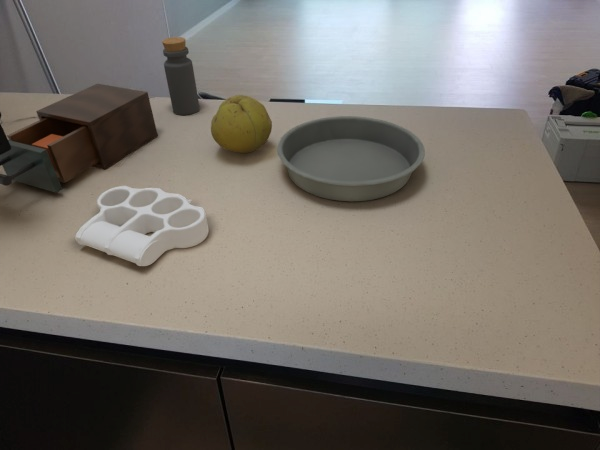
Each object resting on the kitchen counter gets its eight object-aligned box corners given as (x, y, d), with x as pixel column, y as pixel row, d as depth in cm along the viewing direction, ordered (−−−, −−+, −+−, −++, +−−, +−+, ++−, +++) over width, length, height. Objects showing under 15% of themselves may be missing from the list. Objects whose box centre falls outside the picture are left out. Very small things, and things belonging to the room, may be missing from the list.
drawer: (26, 212, 69) (6, 170, 65) (-24, 196, 73) (-45, 155, 69) (116, 155, 83) (104, 118, 79) (70, 144, 87) (57, 108, 83)
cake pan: (449, 192, 72) (454, 167, 70) (301, 221, 67) (300, 195, 64) (384, 128, 91) (386, 107, 89) (264, 147, 86) (262, 125, 83)
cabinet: (105, 170, 81) (89, 122, 75) (54, 157, 85) (35, 111, 80) (158, 136, 91) (147, 91, 86) (110, 126, 96) (97, 83, 90)
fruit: (283, 140, 88) (280, 90, 82) (257, 169, 80) (252, 116, 73) (232, 132, 92) (226, 84, 86) (202, 159, 83) (193, 107, 77)
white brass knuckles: (63, 243, 64) (135, 191, 75) (163, 280, 58) (227, 218, 68) (54, 224, 62) (130, 174, 73) (157, 260, 56) (224, 199, 66)
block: (58, 170, 77) (49, 148, 74) (40, 166, 78) (31, 144, 76) (77, 159, 80) (69, 137, 77) (59, 155, 81) (51, 133, 79)
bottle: (168, 114, 100) (153, 43, 91) (180, 104, 104) (167, 35, 95) (193, 116, 99) (180, 44, 89) (204, 106, 103) (193, 36, 94)
